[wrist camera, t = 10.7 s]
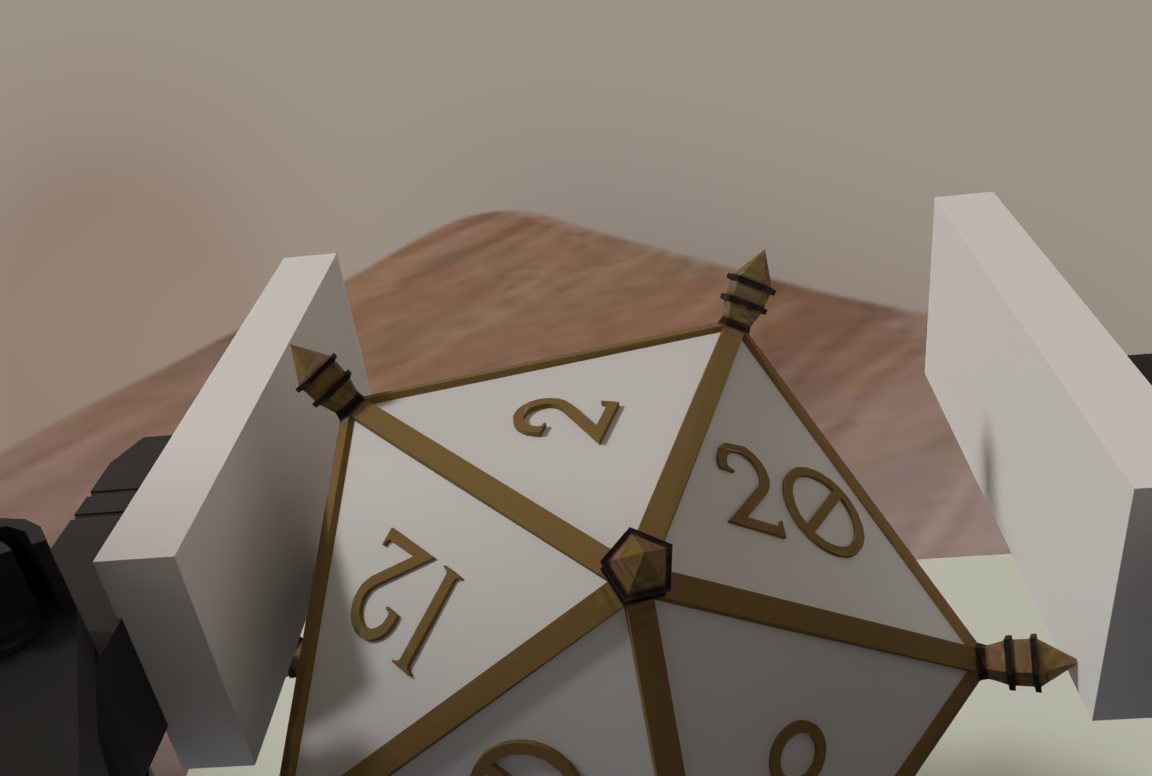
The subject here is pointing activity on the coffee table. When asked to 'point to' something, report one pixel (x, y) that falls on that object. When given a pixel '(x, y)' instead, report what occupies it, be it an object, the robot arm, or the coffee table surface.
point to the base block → (984, 723)
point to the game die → (618, 578)
